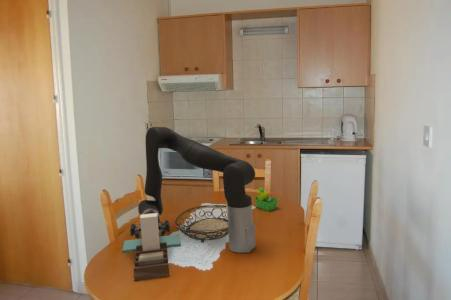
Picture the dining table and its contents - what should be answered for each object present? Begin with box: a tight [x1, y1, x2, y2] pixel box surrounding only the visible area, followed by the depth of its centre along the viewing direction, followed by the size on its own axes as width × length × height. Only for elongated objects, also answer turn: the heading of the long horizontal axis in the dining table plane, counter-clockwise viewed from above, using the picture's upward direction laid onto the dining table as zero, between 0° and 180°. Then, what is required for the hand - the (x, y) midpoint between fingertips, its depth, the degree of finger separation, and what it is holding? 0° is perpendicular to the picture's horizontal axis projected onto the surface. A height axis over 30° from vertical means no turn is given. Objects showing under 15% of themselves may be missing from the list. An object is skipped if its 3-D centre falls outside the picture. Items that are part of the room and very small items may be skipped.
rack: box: [133, 242, 170, 282], centre depth 130 cm, size 19×11×5 cm, turn 11°
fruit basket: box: [253, 187, 279, 212], centre depth 190 cm, size 11×9×11 cm
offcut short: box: [140, 251, 163, 256], centre depth 132 cm, size 2×8×4 cm, turn 101°
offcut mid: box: [139, 253, 163, 258], centre depth 127 cm, size 2×8×4 cm, turn 101°
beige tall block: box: [139, 213, 160, 251], centre depth 135 cm, size 4×6×16 cm, turn 101°
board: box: [121, 234, 182, 254], centre depth 149 cm, size 10×22×2 cm, turn 101°
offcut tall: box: [138, 256, 164, 267], centre depth 123 cm, size 2×8×6 cm, turn 101°
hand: (150, 234), depth 133 cm, fingers open, 8 cm apart
